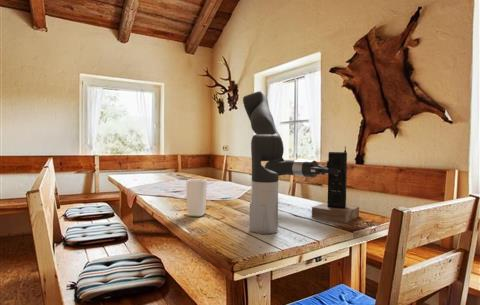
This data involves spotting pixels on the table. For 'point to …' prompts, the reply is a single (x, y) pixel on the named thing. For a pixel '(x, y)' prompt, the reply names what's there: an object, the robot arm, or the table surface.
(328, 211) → the walnut stand
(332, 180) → the portable radio
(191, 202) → the cup
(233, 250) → the table surface
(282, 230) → the table surface
